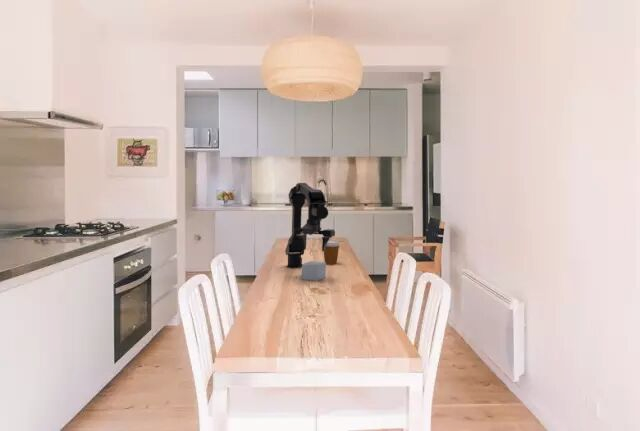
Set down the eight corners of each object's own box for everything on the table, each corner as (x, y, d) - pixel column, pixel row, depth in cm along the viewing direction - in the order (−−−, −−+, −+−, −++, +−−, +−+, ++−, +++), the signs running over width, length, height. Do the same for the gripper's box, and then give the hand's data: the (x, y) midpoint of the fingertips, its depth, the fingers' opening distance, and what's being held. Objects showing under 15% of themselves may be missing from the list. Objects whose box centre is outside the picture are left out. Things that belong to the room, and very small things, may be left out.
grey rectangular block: (301, 279, 224) (302, 264, 224) (310, 275, 234) (310, 260, 233) (317, 281, 221) (317, 265, 221) (325, 276, 231) (325, 262, 230)
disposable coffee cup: (339, 265, 261) (340, 242, 260) (321, 265, 261) (322, 242, 260) (339, 262, 271) (339, 240, 270) (322, 262, 271) (322, 240, 270)
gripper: (288, 217, 223) (288, 251, 225) (326, 219, 216) (325, 254, 218) (298, 215, 234) (298, 248, 235) (335, 217, 226) (335, 251, 228)
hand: (313, 250), depth 229 cm, fingers open, 9 cm apart
